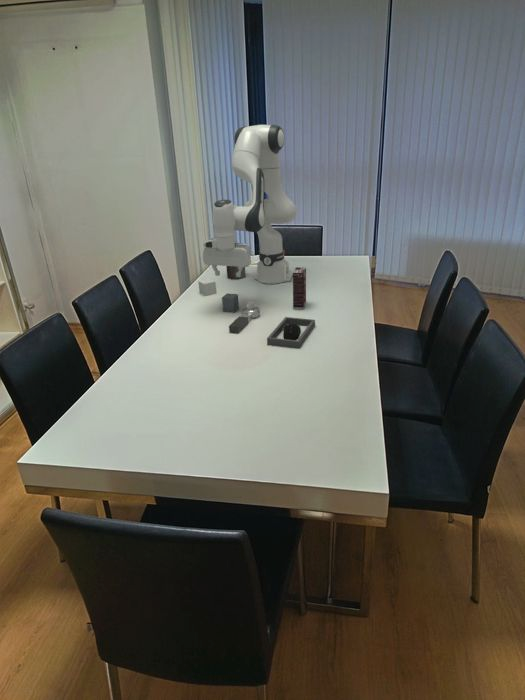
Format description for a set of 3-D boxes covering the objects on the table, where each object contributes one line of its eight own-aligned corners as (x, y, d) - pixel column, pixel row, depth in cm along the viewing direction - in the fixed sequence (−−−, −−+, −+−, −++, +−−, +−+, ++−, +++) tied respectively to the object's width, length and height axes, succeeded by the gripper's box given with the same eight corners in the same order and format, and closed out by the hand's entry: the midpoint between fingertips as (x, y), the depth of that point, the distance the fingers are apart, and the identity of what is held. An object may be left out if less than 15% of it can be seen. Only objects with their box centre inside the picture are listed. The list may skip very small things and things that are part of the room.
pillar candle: (224, 279, 248) (222, 250, 242) (230, 273, 257) (229, 245, 250) (242, 280, 246) (240, 251, 239) (248, 274, 254) (246, 246, 247)
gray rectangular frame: (285, 322, 192) (285, 316, 191) (315, 325, 188) (315, 319, 187) (267, 344, 175) (266, 338, 174) (299, 348, 171) (299, 341, 170)
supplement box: (304, 309, 204) (303, 273, 198) (292, 309, 205) (292, 273, 199) (306, 302, 212) (306, 267, 205) (295, 302, 213) (295, 267, 206)
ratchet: (246, 312, 205) (246, 298, 202) (262, 313, 203) (261, 300, 200) (225, 332, 187) (224, 317, 184) (242, 334, 185) (241, 319, 182)
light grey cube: (216, 293, 229) (215, 281, 226) (205, 296, 226) (203, 284, 223) (210, 290, 233) (209, 278, 231) (199, 293, 231) (198, 281, 228)
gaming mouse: (280, 345, 175) (280, 335, 173) (284, 328, 188) (284, 319, 186) (298, 345, 174) (298, 335, 172) (301, 329, 187) (301, 319, 185)
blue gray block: (228, 307, 211) (226, 293, 208) (239, 308, 209) (238, 294, 206) (223, 311, 207) (221, 297, 204) (234, 312, 205) (233, 298, 202)
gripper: (252, 241, 194) (254, 275, 200) (206, 239, 201) (209, 272, 207) (246, 245, 189) (248, 279, 195) (199, 243, 196) (202, 276, 202)
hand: (228, 275), depth 201 cm, fingers open, 8 cm apart
